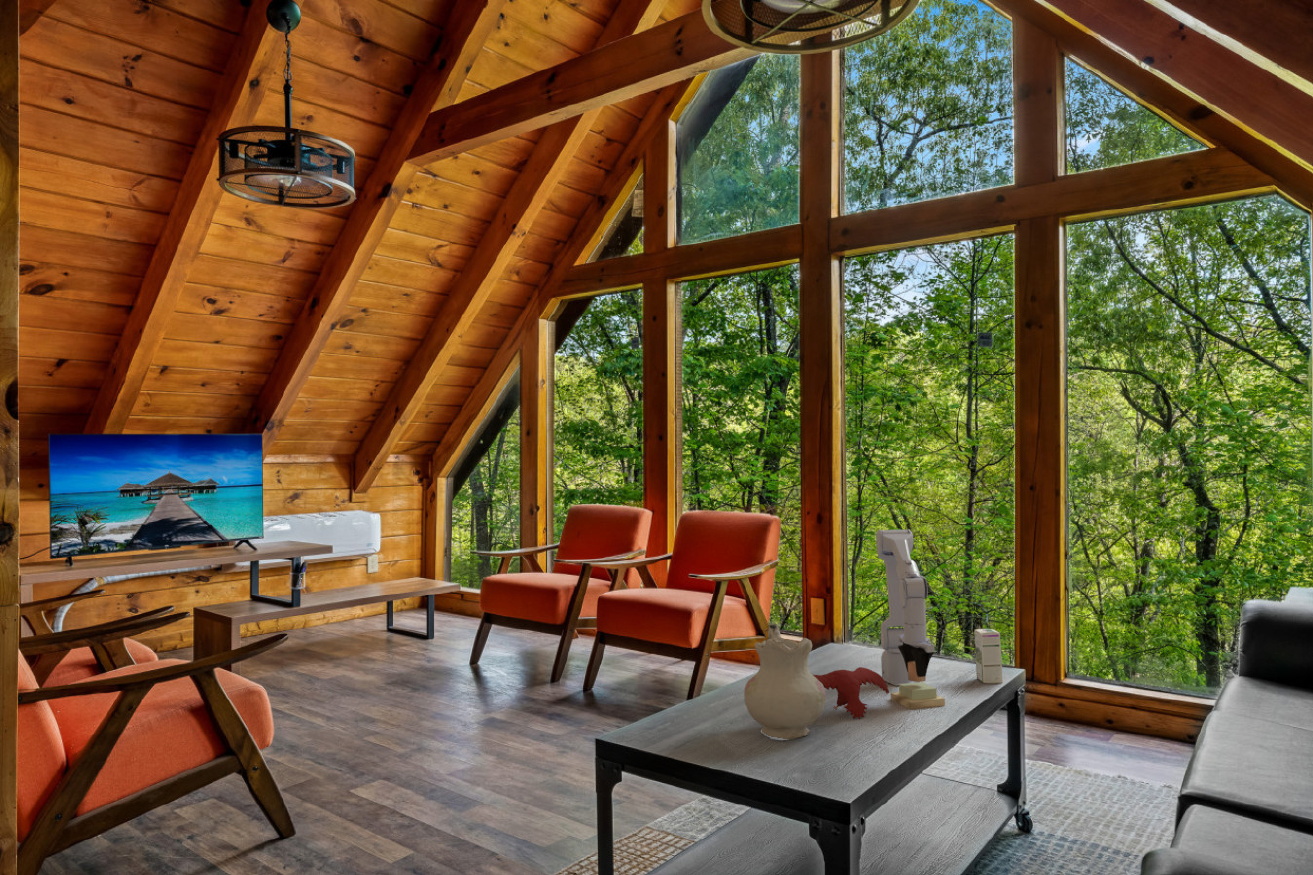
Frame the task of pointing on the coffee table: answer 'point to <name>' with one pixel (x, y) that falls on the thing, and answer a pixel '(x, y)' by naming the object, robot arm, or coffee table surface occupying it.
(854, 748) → the coffee table surface
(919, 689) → the sage slab
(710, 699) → the coffee table surface
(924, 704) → the maple slab
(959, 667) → the coffee table surface
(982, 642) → the syrup box
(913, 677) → the peach domed cylinder
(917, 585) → the robot arm
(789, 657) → the ceramic pitcher
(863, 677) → the decorative bird sculpture
